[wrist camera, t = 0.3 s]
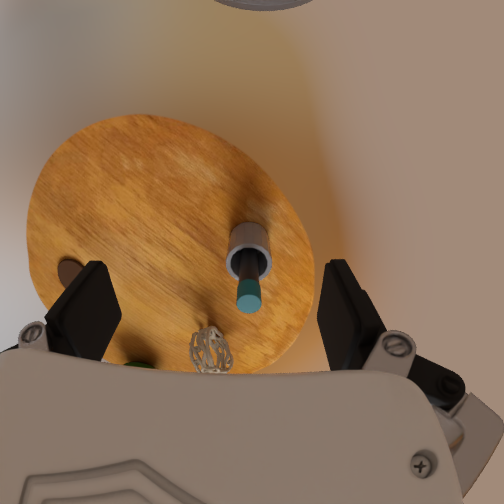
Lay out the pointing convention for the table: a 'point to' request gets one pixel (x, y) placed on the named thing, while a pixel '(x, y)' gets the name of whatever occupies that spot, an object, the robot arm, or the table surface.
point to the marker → (248, 282)
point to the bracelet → (208, 337)
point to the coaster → (68, 271)
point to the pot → (249, 238)
